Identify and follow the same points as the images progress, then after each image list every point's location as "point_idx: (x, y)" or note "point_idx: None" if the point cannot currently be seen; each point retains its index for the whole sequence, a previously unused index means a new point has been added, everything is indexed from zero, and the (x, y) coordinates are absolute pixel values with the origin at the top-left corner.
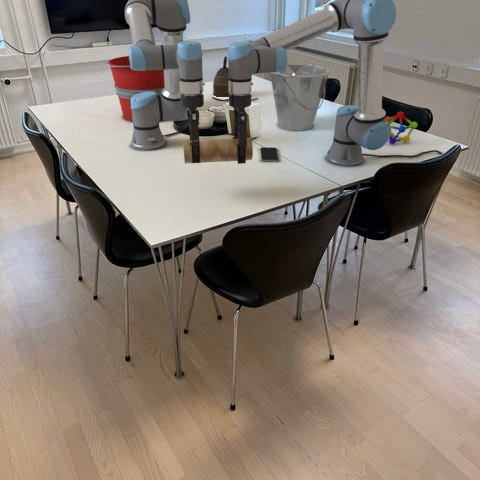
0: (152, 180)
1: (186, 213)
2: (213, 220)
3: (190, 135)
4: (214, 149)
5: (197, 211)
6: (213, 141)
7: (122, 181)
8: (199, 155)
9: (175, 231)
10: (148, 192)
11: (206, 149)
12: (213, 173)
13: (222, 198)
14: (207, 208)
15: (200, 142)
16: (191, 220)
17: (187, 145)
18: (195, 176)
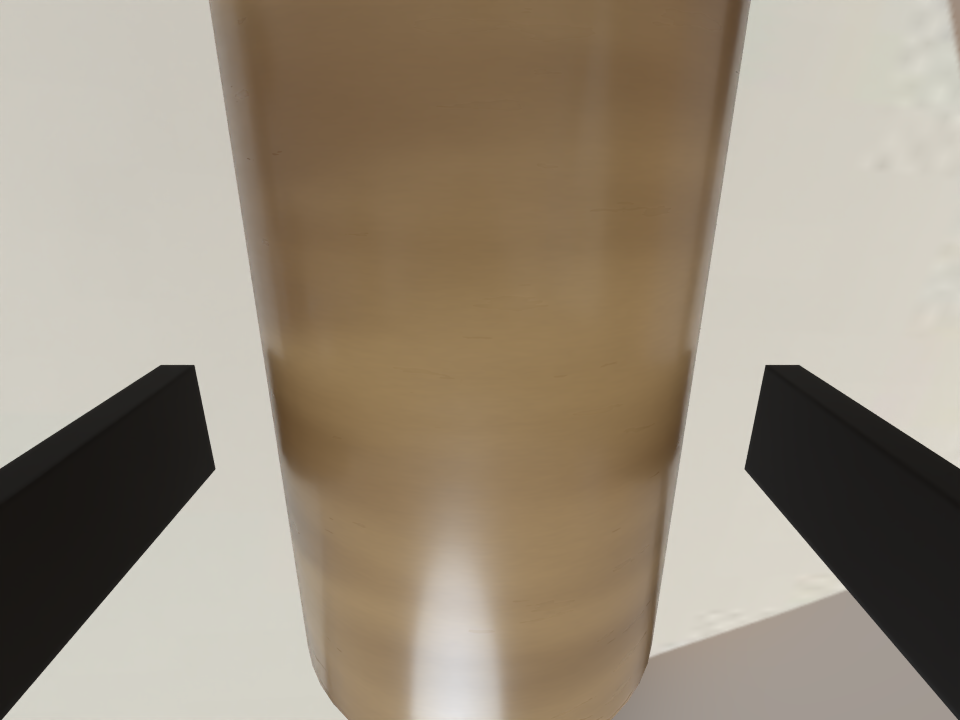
0: (240, 552)
1: (753, 365)
2: (914, 193)
3: (52, 639)
4: (735, 88)
5: (748, 294)
6: (579, 70)
7: (259, 689)
8: (878, 428)
9: (947, 431)
10: None
11: (701, 289)
12: (70, 109)
13: None
14: (725, 221)
15: (573, 458)
16: (856, 339)
17: (608, 674)
18: (152, 275)
